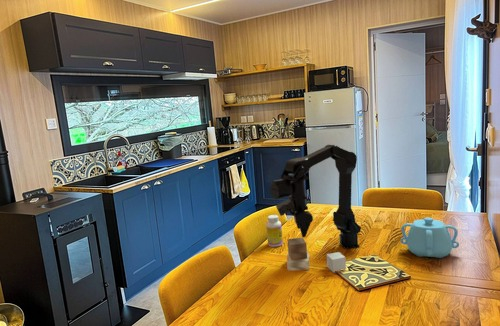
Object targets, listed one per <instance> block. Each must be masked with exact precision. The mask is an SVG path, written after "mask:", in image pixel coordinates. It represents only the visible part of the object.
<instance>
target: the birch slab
mask: <svg viewBox="0 0 500 326" xmlns="http://www.w3.org/2000/svg"><path fill="white" fill-rule="evenodd" d="M286 254H287V257H286V266H287V267H286V268H287V271H310V258H309V257H310V255H309V251H307V258H306V259H298V260H291V258H290V256H289V254H288V253H286Z"/></svg>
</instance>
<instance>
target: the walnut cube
mask: <svg viewBox="0 0 500 326" xmlns="http://www.w3.org/2000/svg"><path fill="white" fill-rule="evenodd" d="M286 241H287V242H286V243H287V250H288V251H287V254H289V256H290V258H291V260H298V259H306V258H307V252H308V251H307V250H308V249H307V242H306V241H305V239H304V237H302V236H301V237H296V238H295V237H293V238H288V239H286Z"/></svg>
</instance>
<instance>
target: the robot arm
mask: <svg viewBox="0 0 500 326" xmlns="http://www.w3.org/2000/svg"><path fill="white" fill-rule="evenodd" d="M357 157H358V156H357V154H356V153H355V152H353V151H348V150H346V149H344V148H341V147H340V146H338V145H336V144H327V145H325V146H324V147H321V148H320V149H317V150H315V151H313V152H312V153H310V154H308V155H305V156H302V157H295V158H292V159H288V160H287V161H286V162H285V165H284V168H283V171H282V172H281V175H280V177H279V178H280V179H274V180H272V184H271V185H270V188H269V192H270V195H271V197H272V198H273V199H274V200H279V199H282V198H286V197H288V199H287V200H284V201H282V202H280V203H278V204H276V206H275V207H276V209H277V211H278V214H279V215H280V217H282V216H284V215H286V214H287V213H289V214H291V215H292V216H293V220H294V223H295V224H296V227H297V229H298V230H299V229H300V233H301V238H302V237H303V238H306V237H307V234H308V231H309V228H310V227H311V224H312V222H313V221H314V216H313V214H312V213H311V212H310V211H309V207H308V204H307V199H308V197H307V194H306V188H305V187H306V185H305V183H306V182H305V181H307V180H310V178H309V177H308V176H307V175H306V174H307V173H308V172H309V171H310V169H312V167H314V166H317V164H319V163H321V162H323V161H326V160H327V159H329V158H330V159H332V160H334V165H335V168H336V170H337V172H338V207H337V209H336V211H333V212H332V216H333V217H332V218H333V219H332V222H333V224H334V226H335V227H336V229H337V231H340V233H339V235H338V236H339V237H338V238H339V245H341V247H342V248H343V249H351V248H352V249H353V248H359V247H360V244H359V238H358V234H359V233H361V229H362V227H361V226H360V225H359V224H358V223H357V222H356V216H355V213H354V211H353V209H352V183H353V182H352V181H353V180H352V175H353V172H354V171H355V169H356V166H357V160H358V158H357Z"/></svg>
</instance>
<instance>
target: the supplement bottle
mask: <svg viewBox="0 0 500 326" xmlns="http://www.w3.org/2000/svg"><path fill="white" fill-rule="evenodd" d="M265 225H266V227H265V228H266V238H267V245H268V246H269V247H272V248H273V247H274V248H276V247H277V248H278V247H281V246H282V245H283V244H284V239H283V229H282V223H281V221H279V215H276V214H271V215H268V216H267V222H266V224H265Z"/></svg>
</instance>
